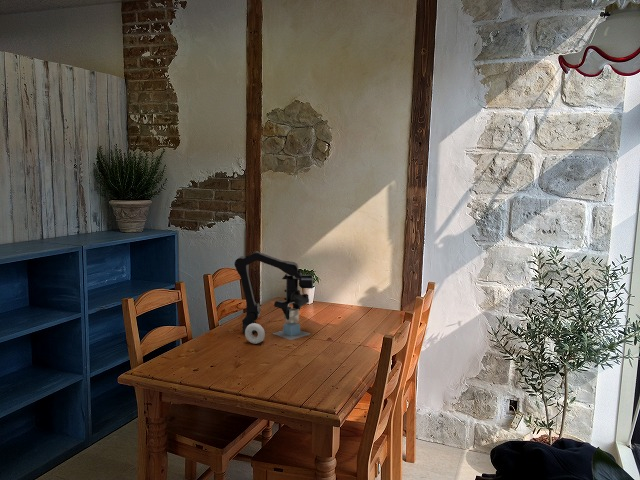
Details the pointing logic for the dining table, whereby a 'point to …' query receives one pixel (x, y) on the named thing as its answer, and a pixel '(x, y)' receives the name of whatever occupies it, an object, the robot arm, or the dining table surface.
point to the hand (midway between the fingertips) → (291, 318)
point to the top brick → (293, 315)
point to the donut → (259, 330)
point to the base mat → (291, 336)
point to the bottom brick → (291, 329)
